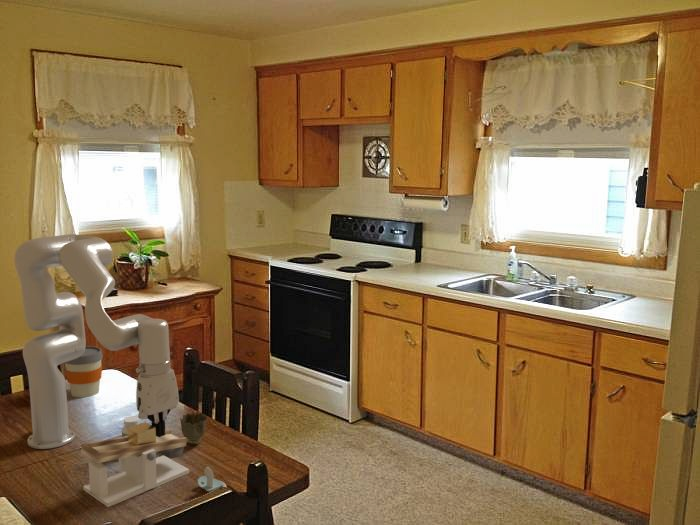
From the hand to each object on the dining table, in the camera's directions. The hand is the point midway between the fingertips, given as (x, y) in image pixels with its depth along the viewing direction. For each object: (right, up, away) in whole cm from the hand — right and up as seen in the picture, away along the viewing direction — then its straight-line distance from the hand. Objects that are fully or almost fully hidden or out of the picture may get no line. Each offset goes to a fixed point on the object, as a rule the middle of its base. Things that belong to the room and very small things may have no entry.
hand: (158, 434), depth 172 cm
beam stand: (-5, -11, -3) cm, 12 cm away
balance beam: (-5, -6, -4) cm, 9 cm away
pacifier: (+15, -12, -6) cm, 20 cm away
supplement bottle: (-11, -9, +14) cm, 20 cm away
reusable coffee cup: (-43, -1, +58) cm, 72 cm away
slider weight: (-3, -1, -4) cm, 5 cm away
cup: (+5, -8, +20) cm, 22 cm away
